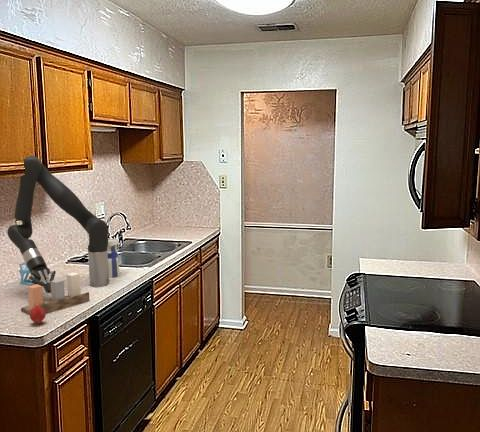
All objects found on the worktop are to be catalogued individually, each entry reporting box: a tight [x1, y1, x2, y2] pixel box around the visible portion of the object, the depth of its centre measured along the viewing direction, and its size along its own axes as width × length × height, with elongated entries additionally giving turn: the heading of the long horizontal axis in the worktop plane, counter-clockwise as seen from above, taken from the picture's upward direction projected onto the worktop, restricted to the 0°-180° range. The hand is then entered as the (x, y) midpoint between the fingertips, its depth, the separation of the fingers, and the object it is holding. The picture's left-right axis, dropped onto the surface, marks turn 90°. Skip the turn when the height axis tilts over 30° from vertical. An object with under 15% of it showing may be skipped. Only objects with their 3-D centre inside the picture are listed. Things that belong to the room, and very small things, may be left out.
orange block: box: [27, 284, 44, 310], centre depth 206 cm, size 4×4×10 cm
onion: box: [29, 304, 46, 325], centre depth 195 cm, size 6×6×8 cm
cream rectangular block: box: [66, 272, 81, 297], centre depth 223 cm, size 4×4×10 cm
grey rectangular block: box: [50, 278, 66, 302], centre depth 213 cm, size 4×4×10 cm
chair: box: [18, 261, 35, 286], centre depth 249 cm, size 8×8×12 cm
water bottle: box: [107, 238, 121, 279], centre depth 259 cm, size 8×9×25 cm
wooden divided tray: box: [20, 291, 91, 316], centre depth 215 cm, size 26×11×4 cm, turn 139°
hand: (50, 292), depth 218 cm, fingers closed
